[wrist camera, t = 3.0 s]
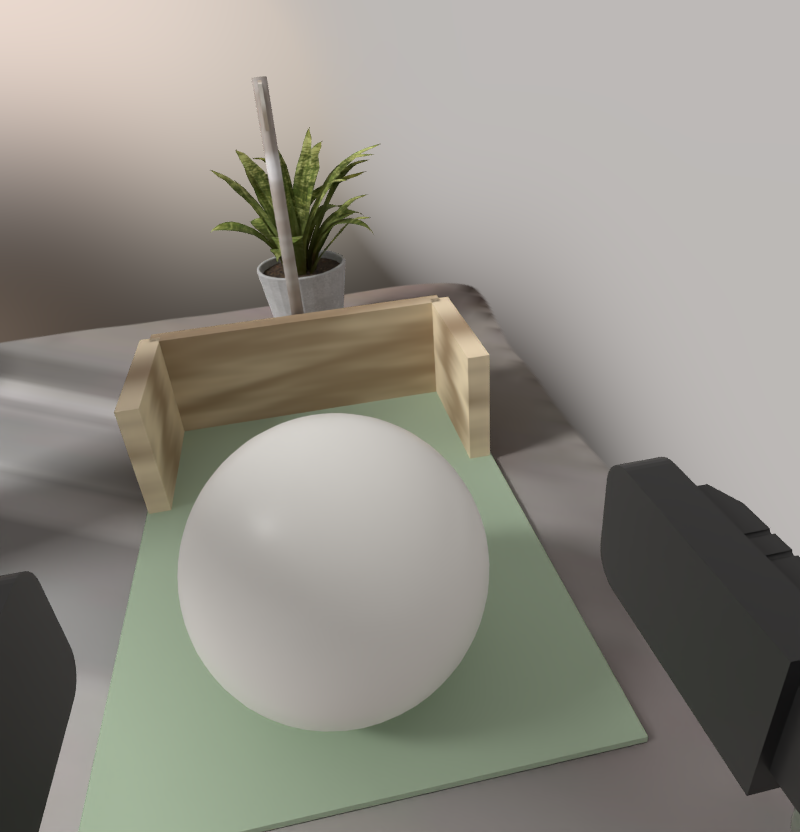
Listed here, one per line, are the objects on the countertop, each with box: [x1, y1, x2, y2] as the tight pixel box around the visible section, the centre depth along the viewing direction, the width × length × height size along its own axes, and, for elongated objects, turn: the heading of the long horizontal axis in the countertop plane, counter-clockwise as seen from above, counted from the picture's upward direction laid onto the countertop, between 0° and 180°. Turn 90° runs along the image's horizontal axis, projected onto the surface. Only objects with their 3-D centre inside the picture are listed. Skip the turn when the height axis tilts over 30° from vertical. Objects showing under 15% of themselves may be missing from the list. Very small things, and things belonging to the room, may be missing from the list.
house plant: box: [212, 129, 379, 318], centre depth 51 cm, size 14×14×16 cm
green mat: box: [78, 392, 648, 832], centre depth 34 cm, size 28×20×1 cm
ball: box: [177, 413, 490, 732], centre depth 24 cm, size 11×11×11 cm
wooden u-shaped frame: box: [114, 77, 490, 514], centre depth 37 cm, size 11×19×20 cm, turn 101°
